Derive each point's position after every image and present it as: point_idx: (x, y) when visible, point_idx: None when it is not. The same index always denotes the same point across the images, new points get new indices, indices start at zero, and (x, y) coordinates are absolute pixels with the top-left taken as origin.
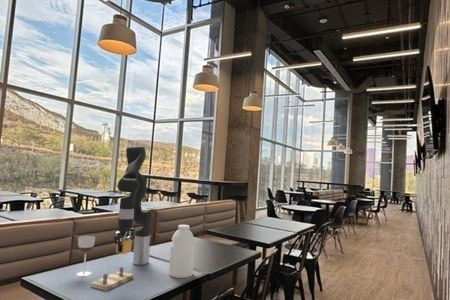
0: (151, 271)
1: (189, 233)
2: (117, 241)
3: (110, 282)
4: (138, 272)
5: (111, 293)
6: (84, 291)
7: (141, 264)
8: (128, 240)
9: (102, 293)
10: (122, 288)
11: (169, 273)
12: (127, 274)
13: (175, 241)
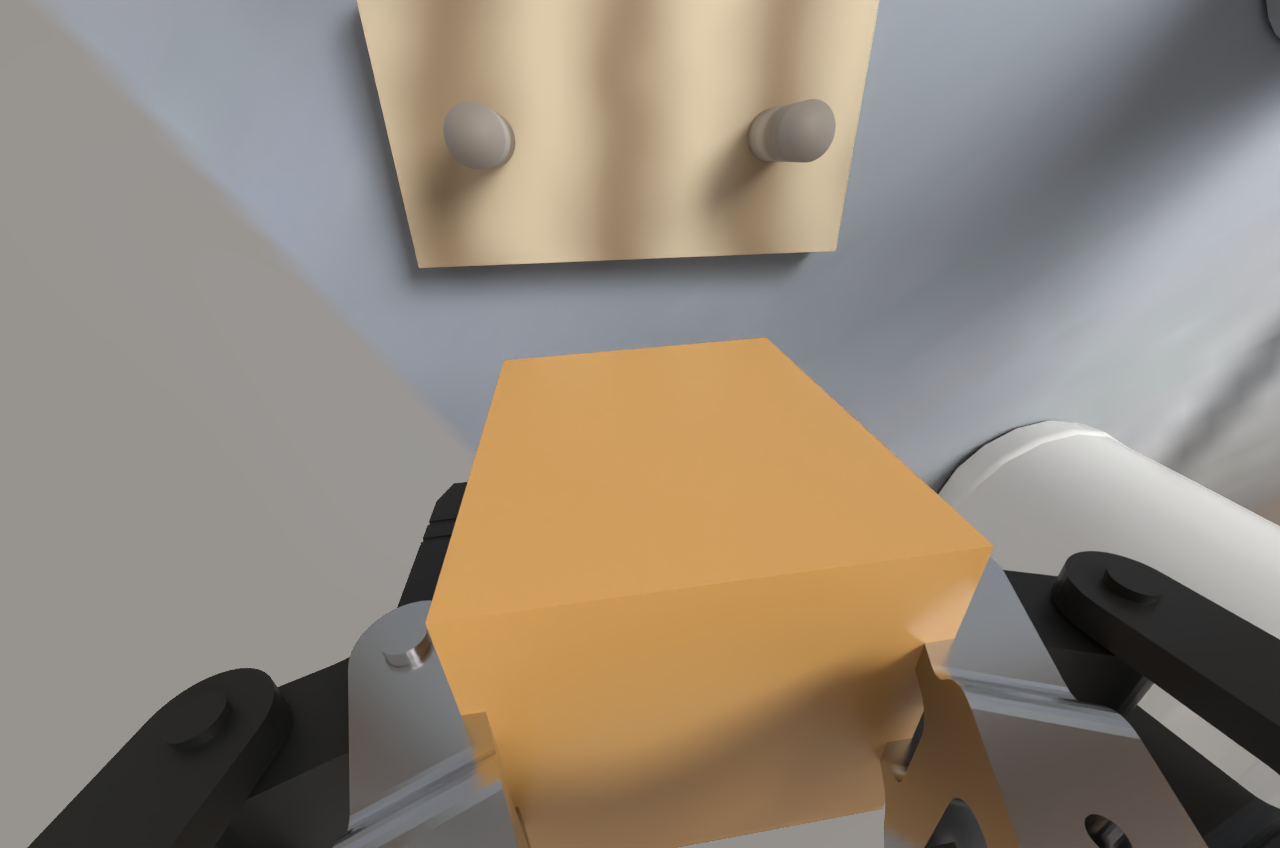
0: (1042, 272)
1: None
2: (232, 830)
3: (521, 209)
4: (992, 172)
5: (422, 339)
6: (234, 43)
7: (1272, 10)
8: (764, 809)
9: (361, 271)
10: (562, 338)
11: (983, 456)
12: (812, 194)
13: (1278, 797)
